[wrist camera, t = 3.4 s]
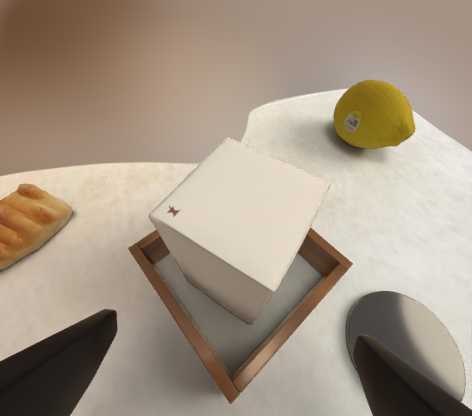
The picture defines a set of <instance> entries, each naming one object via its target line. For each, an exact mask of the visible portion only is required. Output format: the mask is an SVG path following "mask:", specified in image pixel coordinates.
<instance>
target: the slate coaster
mask: <svg viewBox="0 0 472 416" xmlns="http://www.w3.org/2000/svg"><path fill="white" fill-rule="evenodd" d="M358 335H369V336H371V337H373V338H374V339H376V340H377V341H378V342H380V343H381V344H382V345H384V346H385V347H386V348H388V349H389V350H391V351H392V352H393V353H395V354H396V355H397V356H399V357H400V358H401V359H403V360H404V361H406V362H407V363H408V364H410V365H411V366H412V367H414V368H415V369H416V370H418V371H419V372H420V373H422V374H423V375H425V376H426V377H427V378H429V379H430V380H431V381H433V382H434V383H435V384H437V385H438V386H440V387H441V388H442V389H444V390H445V391H446V392H448V393H449V394H450V395H452V396H453V397H455V398H456V399H457V400H459V401H460V402H461V401H462V399H463V396H464V392H465V369H464V365H463V361H462V358H461V355H460V352H459V350H458V347H457V345H456V343H455V341H454V340H453V338H452V336H451V335H450V333H449V332H448V330H447V329H446V327H445V326H444V325H443V324H442V322H441V321H440V320H439V319H438V318H437V317H436V316H435V315H434V314H433V313H432V312H431V311H430V310H429V309H427V308H426V307H425V306H423V305H422V304H421V303H419V302H417V301H416V300H414V299H412V298H410V297H408V296H405V295H403V294H400V293H396V292H390V291H379V292H374V293H371V294H368V295H366V296H364V297H362V298H361V299H360V300H358V301H357V302H356V303H355V304H354V306H353V307H352V309H351V311H350V313H349V316H348V320H347V325H346V339H347V345H348V350H349V353H350V356H351V359H352V362H353V364H354V366H355V363H354V359H353V351H354V346H355V342H356V338H357V336H358ZM355 368H356V366H355ZM356 370H357V369H356ZM357 372H358V371H357Z"/></svg>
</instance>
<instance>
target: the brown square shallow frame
mask: <svg viewBox="0 0 472 416" xmlns="http://www.w3.org/2000/svg"><path fill="white" fill-rule="evenodd" d="M128 249H129V251H130V252H131V254H132V255H133V257H134V258H135V260H136V261H137V263H138V264H139V266H140V267H141V269H142V270H143V272H144V274H145V275H146V277H147V278H148V280H149V281H150V283H151V284H152V286H153V287H154V289H155V290H156V292H157V293H158V295H159V296H160V298H161V299H162V301H163V302H164V304H165V306H166V307H167V309H168V310H169V312H170V313H171V315H172V316H173V318H174V319H175V321H176V322H177V324H178V325H179V327H180V328H181V330H182V331H183V333H184V334H185V336H186V337H187V339H188V341H189V342H190V344H191V345H192V347H193V348H194V350H195V351H196V353H197V354H198V356H199V357H200V359H201V360H202V362H203V363H204V365H205V366H206V368H207V369H208V371H209V372H210V374H211V376H212V377H213V379H214V380H215V382H216V383H217V385H218V386H219V388H220V389H221V391H222V392H223V394H224V395H225V397H226V398H227V400H228V401H229V403H230V404H231V403H232V402H233V401H234V400H235V399H236V398H237V397H238V395H239V394H240V393H241V392H242V391H243V390H244V389H245V387H246V386H247V385H248V384H249V383H250V382H251V381H252V379H253V378H254V377H255V376H256V375H257V374H258V372H259V371H260V370H261V369H262V368H263V367H264V366H265V364H266V363H267V362H268V361H269V360H270V359H271V358H272V356H273V355H274V354H275V353H276V352H277V351H278V350H279V348H280V347H281V346H282V345H283V344H284V343H285V341H286V340H287V339H288V338H289V337H290V336H291V335H292V333H293V332H294V331H295V330H296V329H297V328H298V327H299V325H300V324H301V323H302V322H303V321H304V320H305V318H306V317H307V316H308V315H309V314H310V313H311V312H312V310H313V309H314V308H315V307H316V306H317V305H318V304H319V302H320V301H321V300H322V299H323V298H324V297H325V296H326V294H327V293H328V292H329V291H330V290H331V289H332V287H333V286H334V285H335V284H336V283H337V282H338V281H339V279H340V278H341V277H342V276H343V275H344V274H345V273H346V271H347V270H348V269H349V268H350V267H351V266H352V265H353V263H352V262H350V261H349V260H348V259H347V258H346V257H344V256H343V255H342V254H341V253H340V252H339V251H337V250H336V249H335V248H334V247H333V246H331V245H330V244H329V243H328V242H327V241H326V240H324V239H323V238H322V237H321V236H320V235H319V234H317V233H316V232H315V231H314V230H313V229H311V228H310V229H309V231H308V233H307V235H306V237H305V239H304V241H303V243H302V245H301V247H300V249H299V251H298V253H299V254H300V255H302V256H303V257H304V258H305V259H306V260H307V261H308V262H309V263H310V264H311V265H312V266H313V267H314V268H316V269H317V270H318V271H319V272H320V273H321V274H322V275H323V277H322V278H321V279H320V280H319V282H318V283H317V284H316V285H315V286H314V287H313V288H312V289H311V290H310V291H309V292H308V294H307V295H306V296H305V297H304V298H303V299H302V300H301V301H300V302H299V303H298V304H297V306H296V307H295V308H294V309H293V310H292V311H291V312H290V313H289V314H288V315H287V316H286V317H285V319H284V320H283V321H282V322H281V323H280V324H279V325H278V326H277V327H276V328H275V329H274V331H273V332H272V333H271V334H270V335H269V336H268V337H267V338H266V339H265V340H264V341H263V343H262V344H261V345H260V346H259V347H258V348H257V349H256V350H255V351H254V352H253V353H252V355H251V356H250V357H249V358H248V359H247V360H246V361H245V362H244V363H243V364H242V365H241V367H240V368H239V369H238V370H237V371H236V372H235V373H234V374H233V376H232V375H231V374H230V373H229V371H228V370H227V368H226V367H225V365H224V364H223V363H222V361H221V360H220V358H219V357H218V355H217V354H216V352H215V351H214V350H213V348H212V347H211V345H210V344H209V342H208V341H207V340H206V338H205V337H204V335H203V334H202V332H201V331H200V329H199V328H198V327H197V325H196V324H195V322H194V321H193V319H192V318H191V316H190V315H189V314H188V312H187V311H186V309H185V308H184V306H183V305H182V304H181V302H180V301H179V299H178V298H177V296H176V295H175V293H174V292H173V291H172V289H171V288H170V286H169V285H168V283H167V282H166V281H165V279H164V278H163V276H162V275H161V273H160V272H159V270H158V269H157V268H156V266H155V265H154V264H155V263H156V262H158V261H159V260H160V259H162V258H163V257H165V256H166V255H167V254H169V253H170V251H169V249H168V248H167V246H166V244H165V243H164V241H163V239H162V238H161V236H160V234H159V233H158V231H157V230H155V231H154V232H152V233H151V234H149V235H148V236H146V237H145V238H143V239H142V240H140V241H139V242H137V243H136V244H134V245H133V246H131V247H130V248H128ZM239 392H240V393H239Z"/></svg>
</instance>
